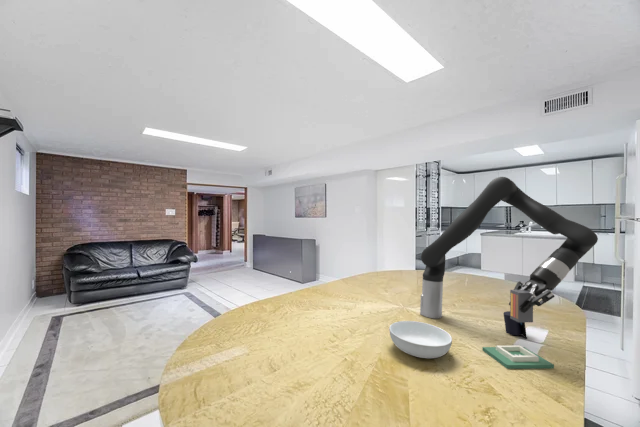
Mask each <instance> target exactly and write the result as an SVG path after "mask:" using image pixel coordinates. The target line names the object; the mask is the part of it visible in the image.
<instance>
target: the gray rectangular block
mask: <svg viewBox="0 0 640 427" xmlns="http://www.w3.org/2000/svg"><path fill="white" fill-rule="evenodd" d="M509 291H510V294H509V295H510V296H509V299H510V300H509V303H510V305H509V307H510V310H509V311H510V318H511V319H513V320H515V321H517V322H525V323H534V306H532V307H531V308H530V309H529V310H528V311H526V312H525V313H523V312H521V311H520V309H519V307H520V306H521V305H522V304H523V303H524V302H525V301H527V299H528V297H529V296H530V292H529V291H526V290H514V289H510V290H509Z"/></svg>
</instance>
